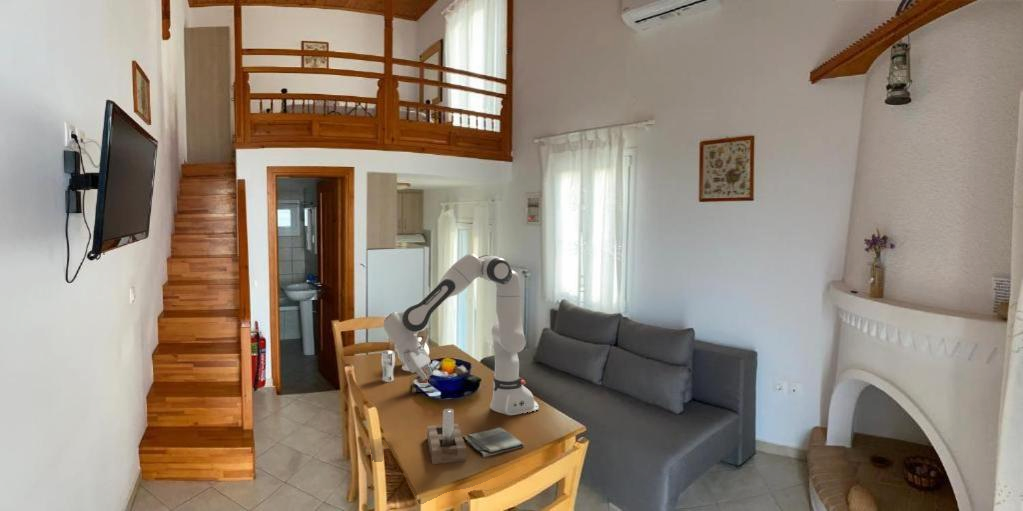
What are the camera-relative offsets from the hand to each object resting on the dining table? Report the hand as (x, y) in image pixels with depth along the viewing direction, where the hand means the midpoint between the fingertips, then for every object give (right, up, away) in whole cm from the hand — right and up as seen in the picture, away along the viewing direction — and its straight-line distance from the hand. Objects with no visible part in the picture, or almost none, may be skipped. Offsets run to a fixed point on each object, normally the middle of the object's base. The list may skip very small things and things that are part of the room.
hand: (428, 377), depth 199 cm
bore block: (+9, -24, -15) cm, 29 cm away
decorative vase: (-22, -14, +77) cm, 81 cm away
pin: (+10, -23, -19) cm, 32 cm away
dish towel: (+26, -24, -8) cm, 37 cm away
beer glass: (-31, -16, +56) cm, 66 cm away
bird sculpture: (-10, -17, +46) cm, 50 cm away
